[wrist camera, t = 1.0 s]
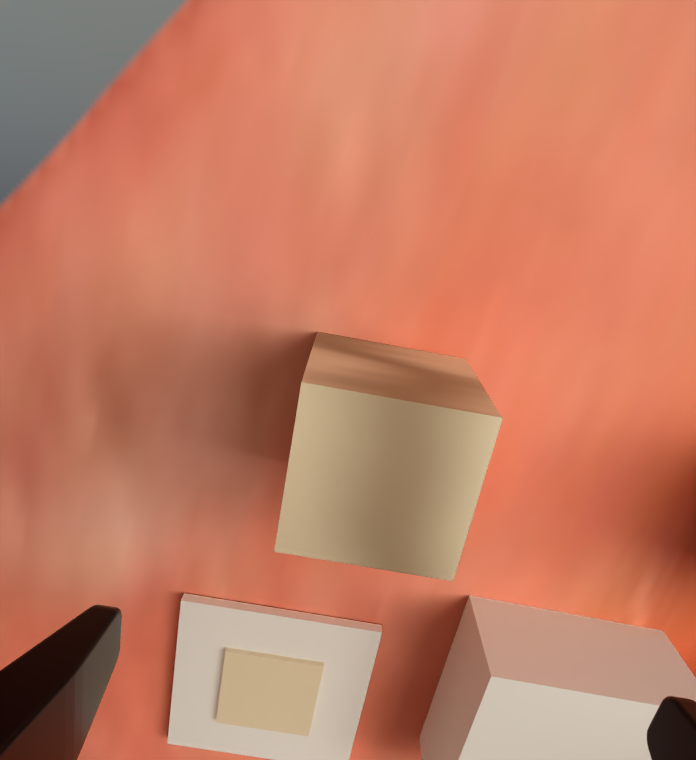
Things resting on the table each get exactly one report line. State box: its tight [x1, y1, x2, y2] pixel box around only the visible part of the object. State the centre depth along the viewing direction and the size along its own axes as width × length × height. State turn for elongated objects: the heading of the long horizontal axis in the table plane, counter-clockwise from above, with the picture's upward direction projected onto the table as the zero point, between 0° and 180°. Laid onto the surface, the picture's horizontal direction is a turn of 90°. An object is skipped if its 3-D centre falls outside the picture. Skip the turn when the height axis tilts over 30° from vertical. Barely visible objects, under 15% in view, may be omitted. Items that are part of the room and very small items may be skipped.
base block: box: [419, 595, 696, 760], centre depth 21 cm, size 8×8×4 cm
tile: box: [167, 593, 382, 760], centre depth 22 cm, size 8×8×1 cm
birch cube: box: [274, 332, 503, 581], centre depth 16 cm, size 5×5×5 cm
